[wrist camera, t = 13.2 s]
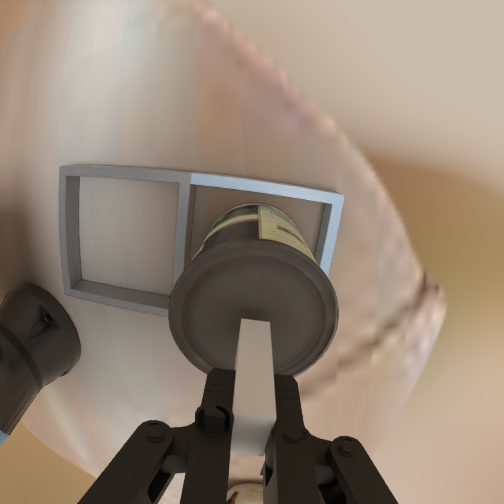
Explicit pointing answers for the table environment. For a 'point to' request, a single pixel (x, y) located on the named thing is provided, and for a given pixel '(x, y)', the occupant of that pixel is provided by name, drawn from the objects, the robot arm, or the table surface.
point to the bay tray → (183, 226)
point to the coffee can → (253, 293)
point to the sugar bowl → (245, 494)
